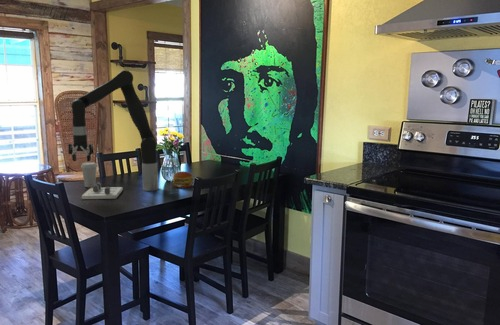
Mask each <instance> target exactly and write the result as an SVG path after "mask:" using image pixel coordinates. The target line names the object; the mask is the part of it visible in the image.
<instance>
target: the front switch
mask: <svg viewBox="0 0 500 325" xmlns="http://www.w3.org/2000/svg"><path fill="white" fill-rule="evenodd" d="M109 193H110V187H109V186H106V188H105V194H109Z"/></svg>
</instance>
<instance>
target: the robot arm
mask: <svg viewBox="0 0 500 325" xmlns="http://www.w3.org/2000/svg"><path fill="white" fill-rule="evenodd" d="M133 81H134V75H133V73H132V72H130V71H129V70H121V71H119V72H118V74H117V75H115V76H114V77H113V78H112V79H110V80H109V81H107V82H105V83H103V84H101V85H100V86H98V87H96V88H94V89H92V90H90V91H88V92H87V93H86V94H84V95H82V96H80V97H78V98H76V99H74V100H73V101H72V102H71V105H70V106H71V110H72V140H73V141H72V142H73V143H68V145H67V146H68V154H69V155H71V157H72V158H71V159H72V161H73V162H77V155H76V154H77V153H78V152H84V153H85V154H86V161H87V162H86V163H89V162H90V161H91V157H92V155H93V154H95V153H94V145H93V143H88V134H87V126H86V124H87V122H86V108H88V107H90V106H91V105H94V104H96V103H98V102H99V101H100V102H101V100H103V99H104V98H106V97H107V96H109V95H110V94H112V93H113V92H114V91H117V90H118V89H120V90H121V93H122V94H123V98H124V100H125V101H124V102H125V105H126V108H127V110H128V112H129V116H130V119H131V121H132V122H133V124H134V125H135V127H136V129H137V131H138V133H139V135H140V139H141V142H140V158H141V169H142V170H141V172H142V174H141V176H142V190H143V191H146V192H154V191H158V190H159V173H158V157H157V147H158V142H157V139H156V137H155V136H154V133H153V132H152V129H151V127H150V123H149V119H148V117H147V114H146V110H145V108H144V105H143V103H142V101H141V100H140V98H139V96H138V95H137V92H136V91H135V87H134V84H133ZM73 148H74V149H73Z"/></svg>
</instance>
